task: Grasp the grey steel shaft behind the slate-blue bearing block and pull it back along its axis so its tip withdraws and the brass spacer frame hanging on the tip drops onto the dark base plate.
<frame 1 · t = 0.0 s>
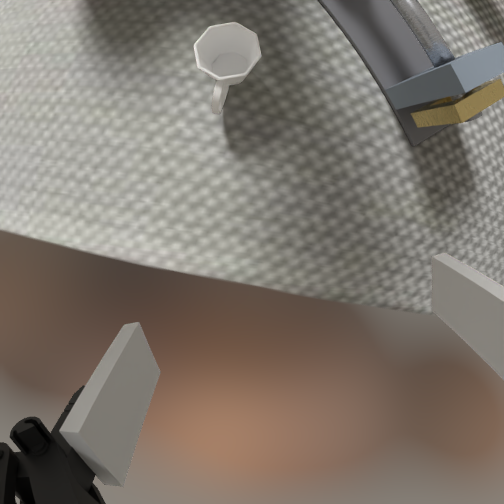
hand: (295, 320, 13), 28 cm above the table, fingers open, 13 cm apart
rig: (413, 87, 35), on the table
spacer: (458, 103, 28), point 8 cm above the table, touching shaft
shaft: (417, 19, 24), point 9 cm above the table, slide at 0.0 cm, touching spacer
cup: (227, 81, 35), on the table
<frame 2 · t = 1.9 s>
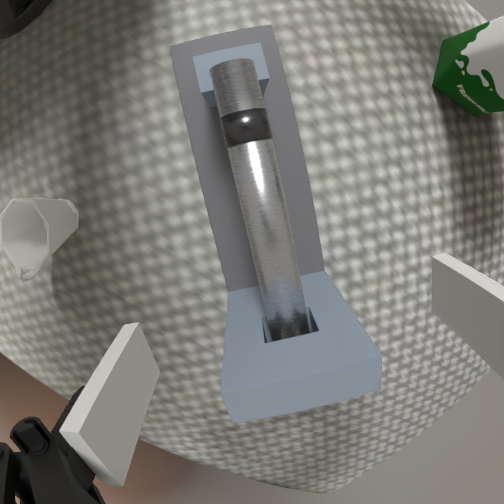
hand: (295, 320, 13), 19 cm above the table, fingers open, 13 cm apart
rig: (278, 291, 33), on the table
shaft: (273, 250, 22), point 9 cm above the table, slide at 0.0 cm, touching spacer
cup: (60, 228, 31), on the table
milk carton: (458, 78, 27), on the table
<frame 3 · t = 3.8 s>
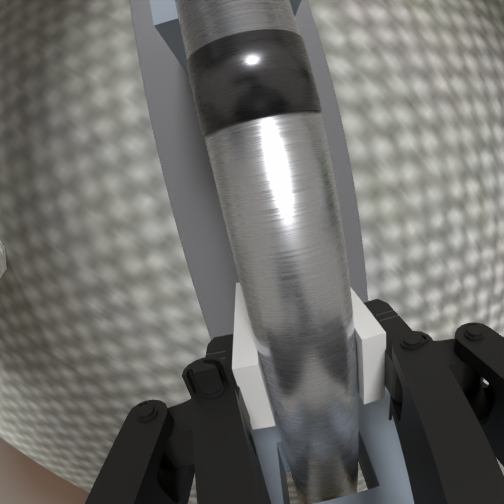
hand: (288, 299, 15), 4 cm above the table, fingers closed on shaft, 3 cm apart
rig: (299, 369, 21), on the table
shaft: (310, 368, 10), point 9 cm above the table, slide at 0.0 cm, touching gripper, spacer
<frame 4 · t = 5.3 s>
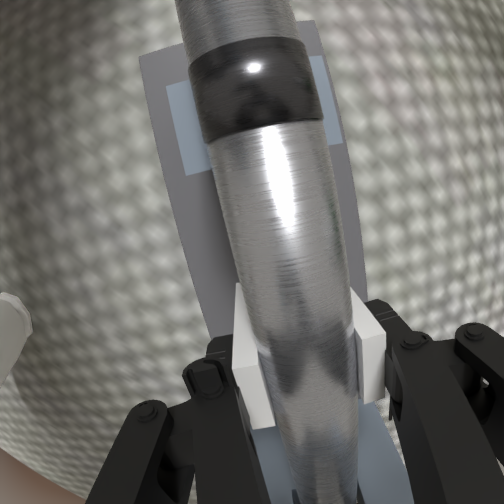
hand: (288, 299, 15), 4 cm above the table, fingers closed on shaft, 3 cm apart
rig: (307, 417, 22), on the table
shaft: (311, 372, 10), point 9 cm above the table, slide at 5.2 cm, touching gripper
cup: (12, 328, 20), on the table
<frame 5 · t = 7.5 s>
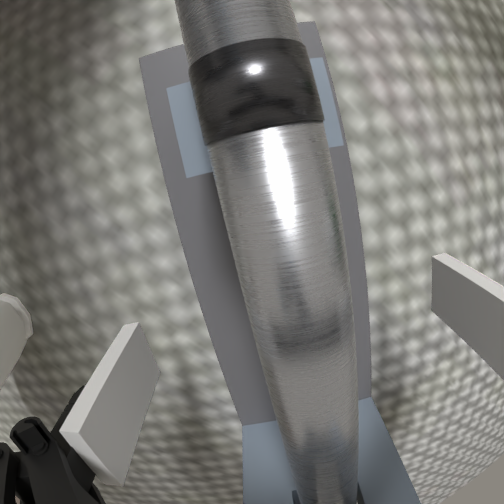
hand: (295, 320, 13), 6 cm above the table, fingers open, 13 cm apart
rig: (308, 418, 22), on the table
shaft: (311, 374, 10), point 9 cm above the table, slide at 5.2 cm
cup: (13, 329, 20), on the table
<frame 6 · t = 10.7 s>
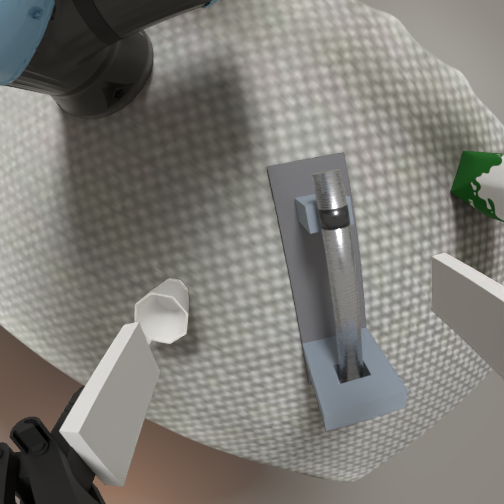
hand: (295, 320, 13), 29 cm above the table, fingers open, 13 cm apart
rig: (334, 340, 46), on the table
shaft: (344, 291, 34), point 9 cm above the table, slide at 5.2 cm
cup: (169, 299, 44), on the table
milk carton: (470, 181, 40), on the table
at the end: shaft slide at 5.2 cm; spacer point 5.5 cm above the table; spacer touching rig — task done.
